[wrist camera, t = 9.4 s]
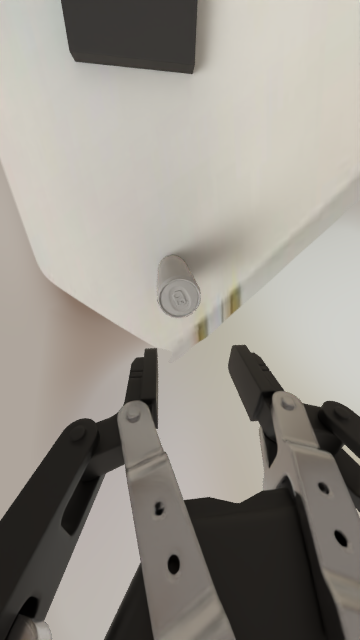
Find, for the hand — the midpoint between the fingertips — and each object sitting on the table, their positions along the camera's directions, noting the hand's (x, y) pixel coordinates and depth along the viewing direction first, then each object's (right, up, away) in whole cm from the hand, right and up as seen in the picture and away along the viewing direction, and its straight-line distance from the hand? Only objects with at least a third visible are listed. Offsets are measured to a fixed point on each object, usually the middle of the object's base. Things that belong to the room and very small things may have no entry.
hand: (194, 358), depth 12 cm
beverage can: (-2, +11, +19) cm, 22 cm away
